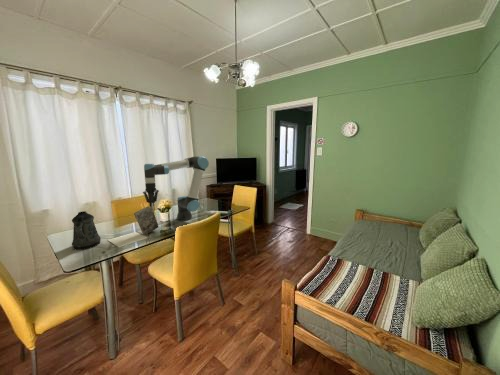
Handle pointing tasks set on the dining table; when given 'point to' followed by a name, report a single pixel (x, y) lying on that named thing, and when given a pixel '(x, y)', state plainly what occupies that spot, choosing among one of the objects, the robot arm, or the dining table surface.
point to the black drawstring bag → (84, 232)
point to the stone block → (146, 220)
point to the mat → (128, 239)
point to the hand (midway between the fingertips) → (152, 210)
